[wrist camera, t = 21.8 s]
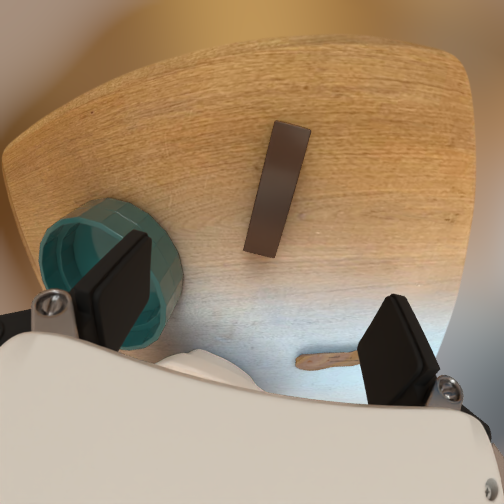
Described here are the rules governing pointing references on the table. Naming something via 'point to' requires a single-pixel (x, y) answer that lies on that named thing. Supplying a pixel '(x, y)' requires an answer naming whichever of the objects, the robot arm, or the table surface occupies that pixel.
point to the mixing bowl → (99, 244)
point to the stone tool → (326, 360)
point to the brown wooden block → (276, 187)
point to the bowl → (209, 368)
